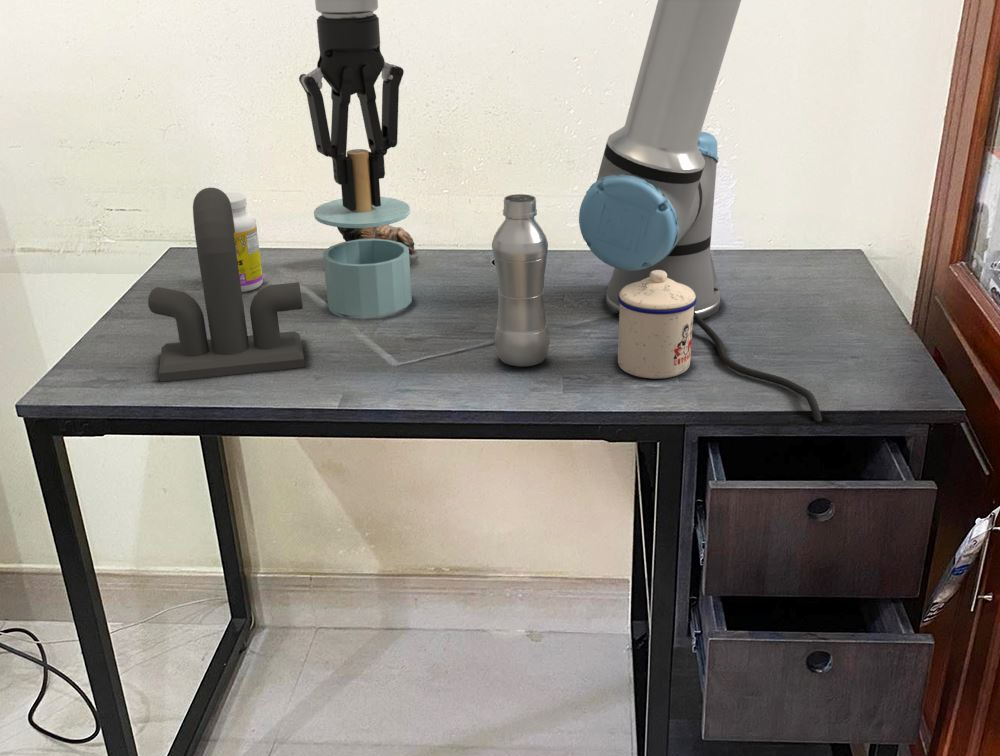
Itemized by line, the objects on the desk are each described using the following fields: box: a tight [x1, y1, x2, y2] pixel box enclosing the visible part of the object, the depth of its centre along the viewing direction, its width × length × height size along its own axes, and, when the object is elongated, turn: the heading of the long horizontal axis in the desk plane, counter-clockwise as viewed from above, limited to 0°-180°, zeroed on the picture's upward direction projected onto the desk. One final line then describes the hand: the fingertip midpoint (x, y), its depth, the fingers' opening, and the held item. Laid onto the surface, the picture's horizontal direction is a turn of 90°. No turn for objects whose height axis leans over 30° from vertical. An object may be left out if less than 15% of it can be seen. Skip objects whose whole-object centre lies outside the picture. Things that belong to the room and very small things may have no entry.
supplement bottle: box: [224, 192, 264, 293], centre depth 162 cm, size 7×7×13 cm
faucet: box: [147, 187, 306, 383], centre depth 140 cm, size 18×16×20 cm
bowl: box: [322, 239, 413, 319], centre depth 156 cm, size 11×11×8 cm
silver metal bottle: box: [491, 193, 550, 367], centre depth 135 cm, size 6×7×20 cm
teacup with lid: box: [617, 270, 697, 380], centre depth 136 cm, size 12×9×12 cm
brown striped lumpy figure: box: [336, 224, 419, 265], centre depth 168 cm, size 12×7×10 cm, turn 96°
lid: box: [313, 148, 411, 228], centre depth 150 cm, size 13×13×9 cm
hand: (361, 205), depth 151 cm, fingers closed on lid, 3 cm apart
